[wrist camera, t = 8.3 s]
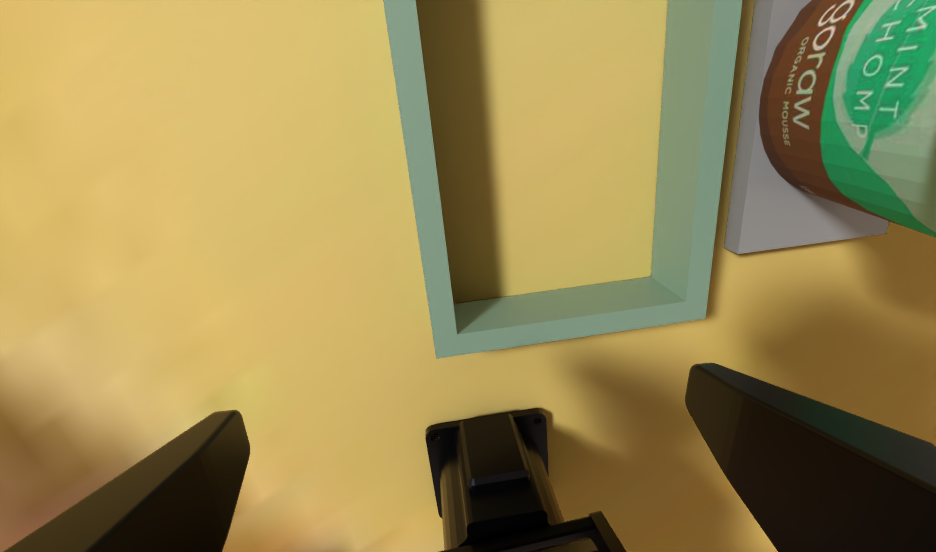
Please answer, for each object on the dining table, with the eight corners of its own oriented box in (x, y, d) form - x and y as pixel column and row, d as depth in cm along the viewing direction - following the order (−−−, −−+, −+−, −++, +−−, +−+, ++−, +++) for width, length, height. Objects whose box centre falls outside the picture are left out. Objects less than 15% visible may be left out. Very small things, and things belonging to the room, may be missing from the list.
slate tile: (866, 228, 22) (885, 233, 21) (724, 247, 21) (738, 254, 21) (953, -121, 17) (984, -134, 16) (768, -107, 16) (789, -119, 15)
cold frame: (668, 292, 22) (705, 318, 19) (433, 325, 21) (436, 358, 18) (705, -171, 15) (769, -233, 13) (364, -149, 15) (352, -209, 12)
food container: (754, -83, 16) (1249, -360, 6) (911, -96, 16) (1589, -372, 7) (715, 243, 20) (970, 358, 11) (838, 226, 21) (1184, 324, 11)
